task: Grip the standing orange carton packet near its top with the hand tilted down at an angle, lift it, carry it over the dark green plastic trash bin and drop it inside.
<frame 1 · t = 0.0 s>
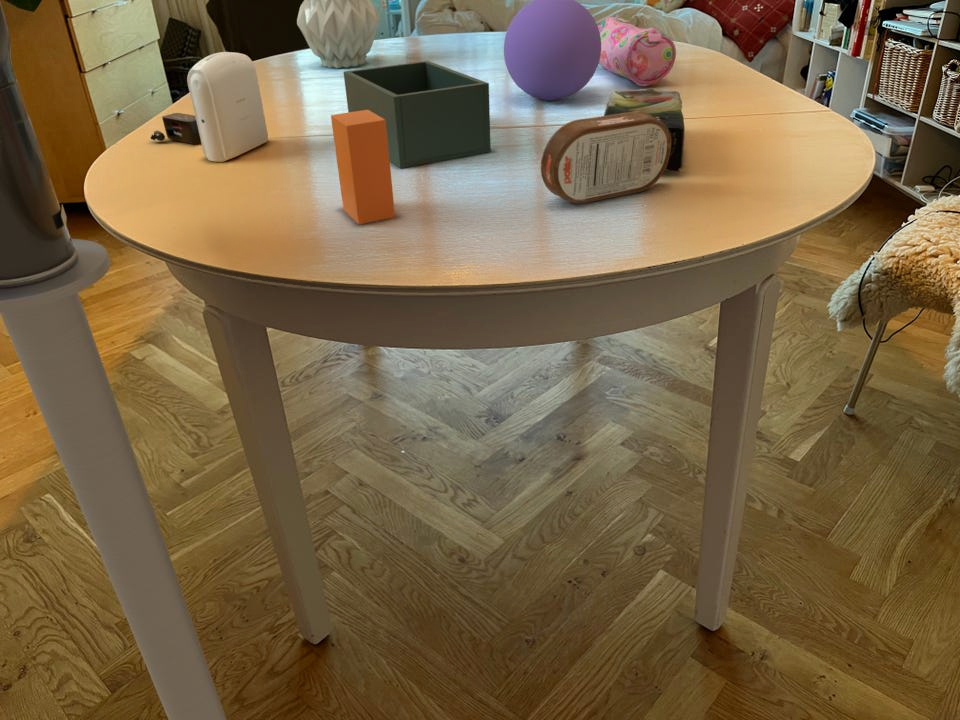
decorative ball: (551, 100, 121), on the table
tin: (606, 197, 82), on the table
trash bin: (417, 142, 102), on the table
vase: (344, 65, 153), on the table
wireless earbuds: (180, 142, 107), on the table
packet: (368, 213, 80), on the table
pencil case: (626, 77, 134), on the table
photo printer: (238, 152, 102), on the table
juice carton: (640, 153, 95), on the table
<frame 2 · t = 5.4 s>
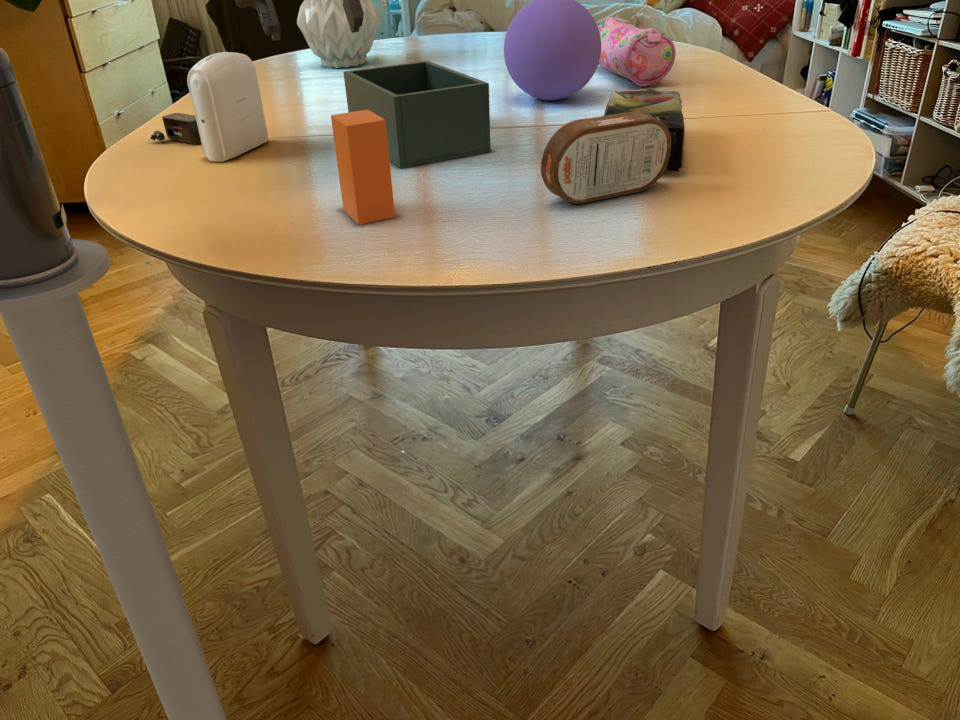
hand: (317, 31, 79), 17 cm above the table, tool tilted 45°, fingers open, 8 cm apart
nothing on the table moved.
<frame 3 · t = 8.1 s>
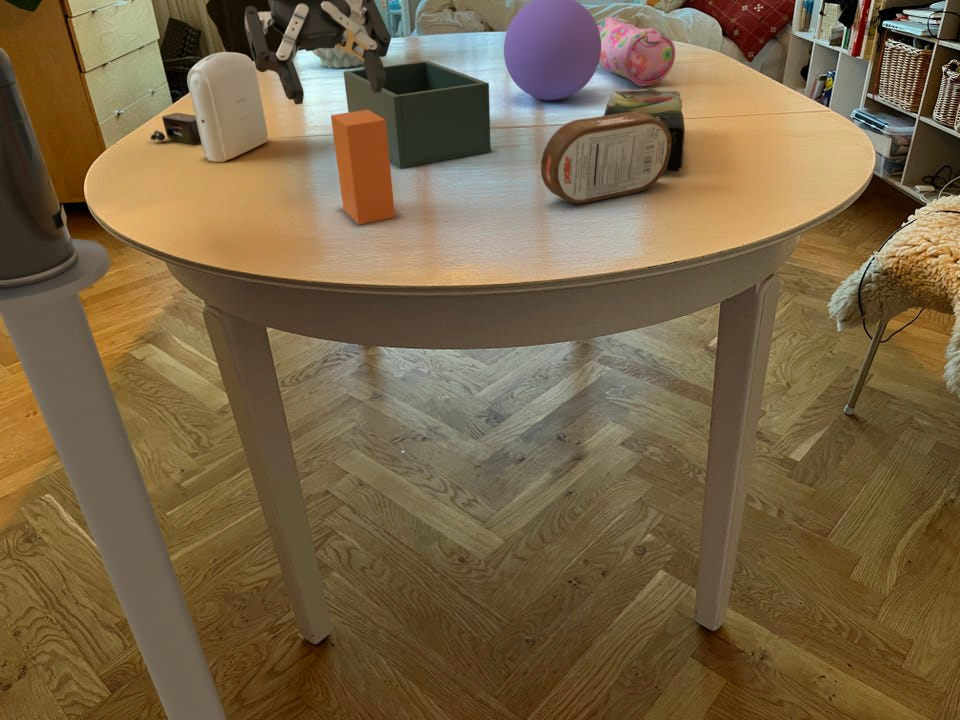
hand: (340, 93, 78), 11 cm above the table, tool tilted 45°, fingers open, 8 cm apart
nothing on the table moved.
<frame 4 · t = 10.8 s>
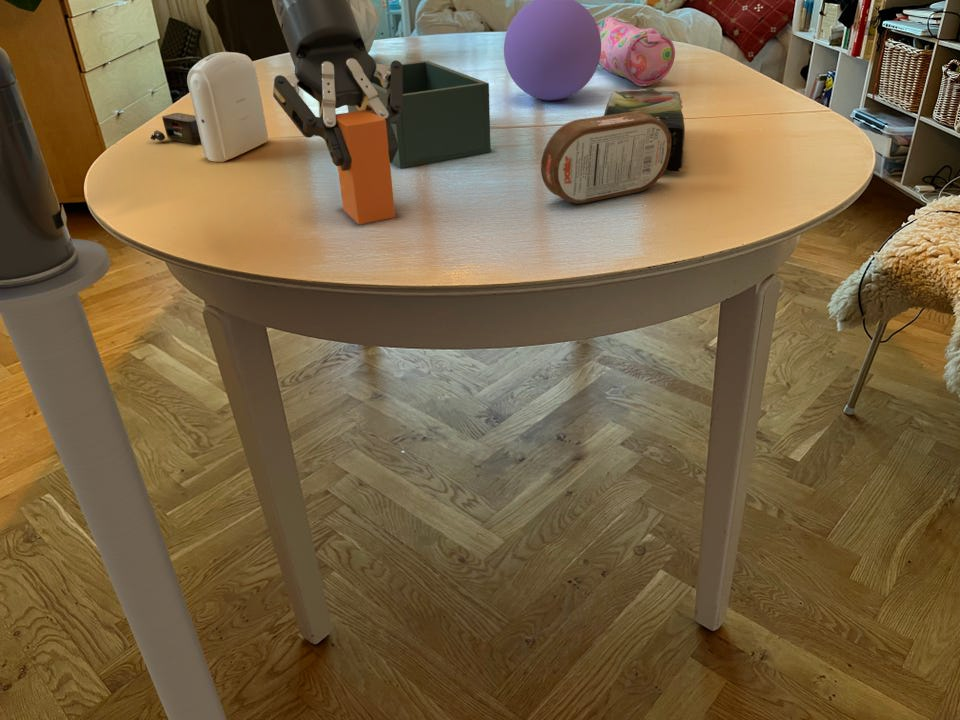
hand: (368, 161, 75), 6 cm above the table, tool tilted 45°, fingers closed on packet, 4 cm apart
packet: (368, 213, 80), on the table, touching gripper
everything else where it was.
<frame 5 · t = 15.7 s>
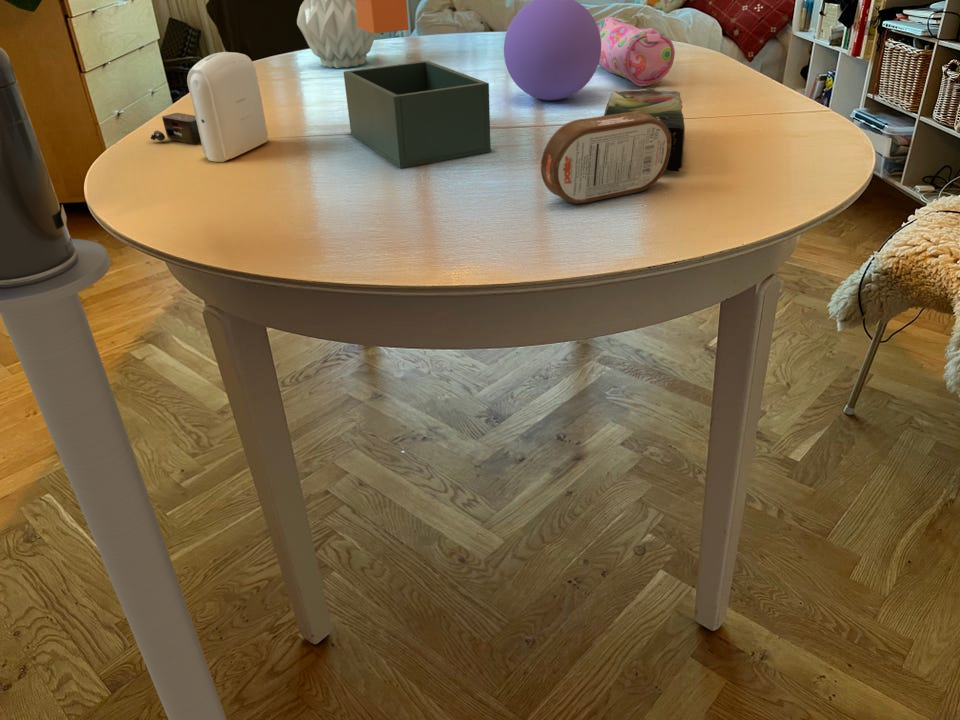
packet: (383, 29, 83), point 16 cm above the table, touching gripper
everything else where it was.
when the fingers open (13 cm above the table, at t = 20.4 s): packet drops 6 cm, resting on trash bin.
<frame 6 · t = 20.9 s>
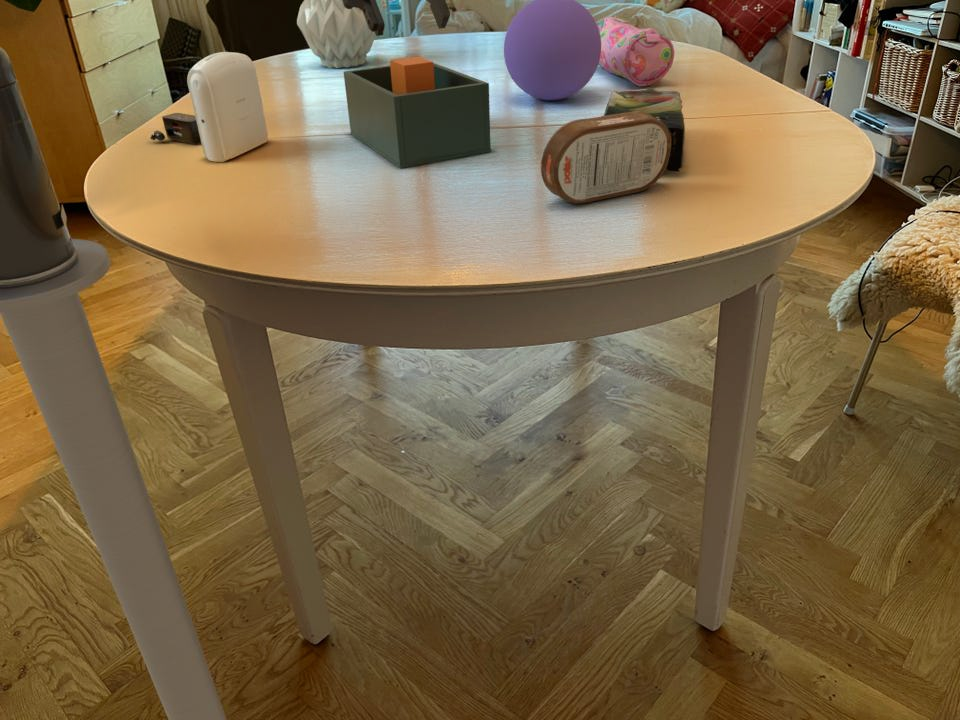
hand: (412, 27, 94), 15 cm above the table, tool tilted 45°, fingers open, 8 cm apart
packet: (417, 138, 102), resting on trash bin
everything else where it was.
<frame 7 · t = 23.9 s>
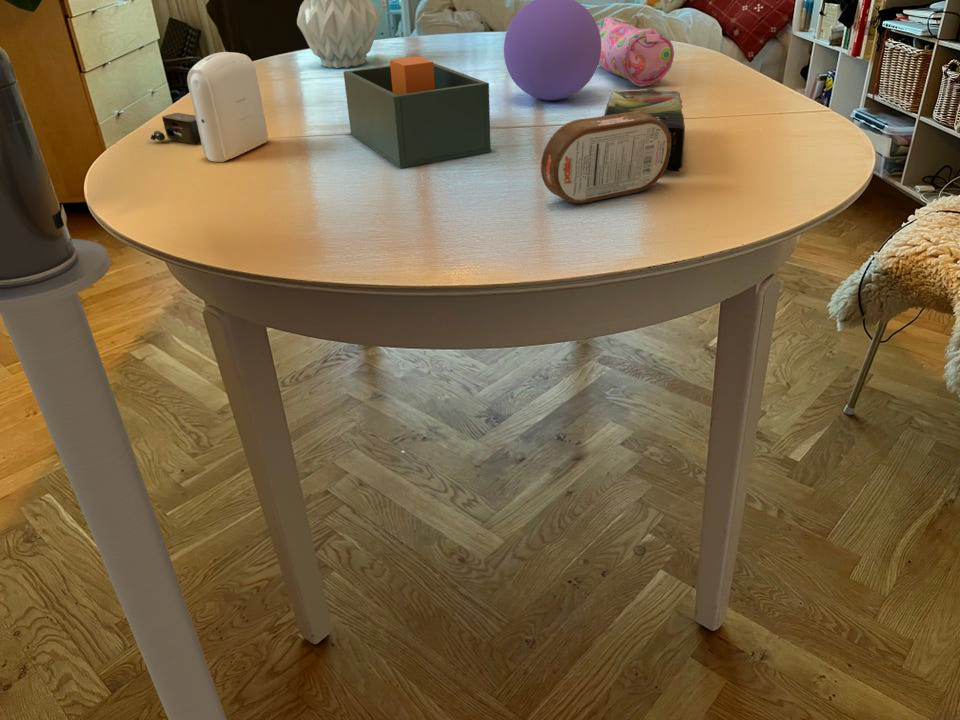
nothing on the table moved.
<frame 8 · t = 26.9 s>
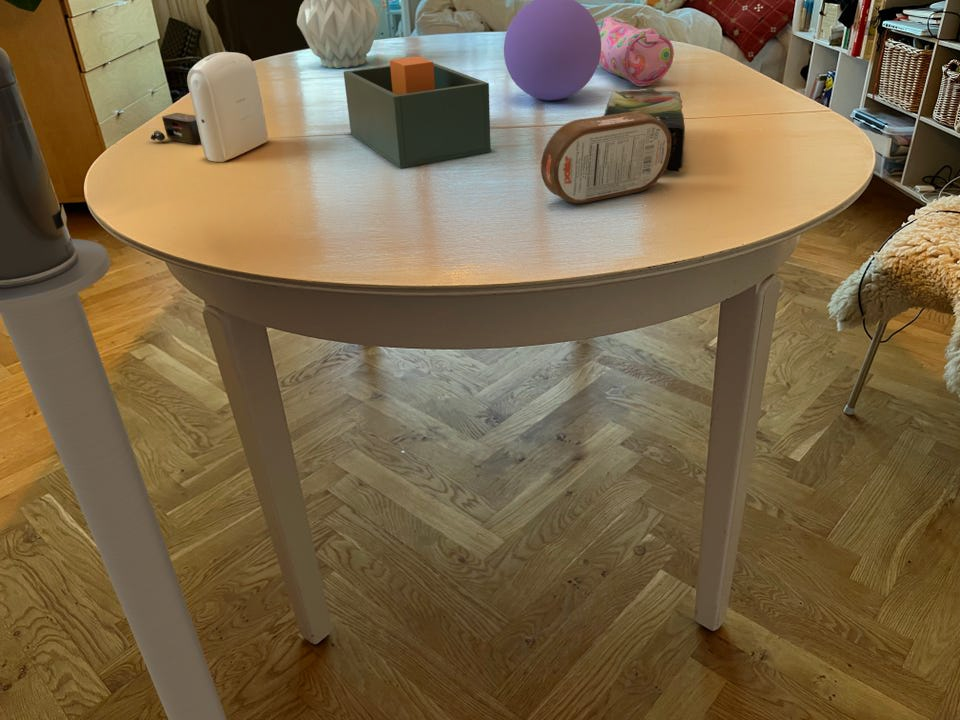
nothing on the table moved.
at the end: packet inside the target area in the trash bin (0.1 cm from its centre), point 0.5 cm above the trash bin's base; the gripper is holding nothing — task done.
